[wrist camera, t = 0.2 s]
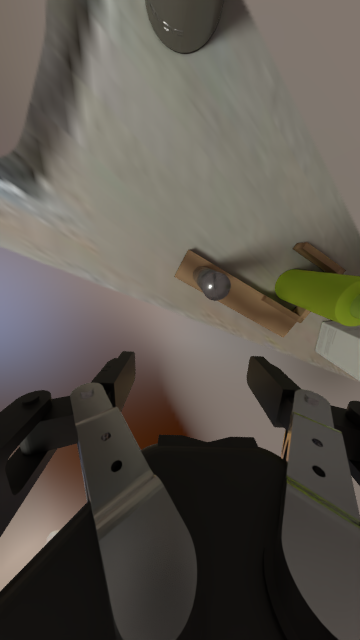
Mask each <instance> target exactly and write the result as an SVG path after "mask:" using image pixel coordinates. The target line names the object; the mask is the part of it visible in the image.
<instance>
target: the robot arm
mask: <svg viewBox="0 0 360 640" xmlns="http://www.w3.org/2000/svg"><path fill="white" fill-rule="evenodd" d="M223 1H224V0H145V3H146V9H147V13H148V16H149V20H150V22H151V24H152V27H153V29H154V31H155V33H156V34H157V36H158V37H159V39H160V40H161V41H162V42H163V43H164V44H165V45H166V46H167V47H169V48H170V49H172V50H173V51H177V52H180V53H189V52H192V51H195V50H197V49H199V48H200V47H201V46H203V45H204V44H205V43H206V42H207V41H208V39H209V38H210V37H211V35H212V34H213V32H214V30H215V28H216V26H217V23H218V21H219V18H220V15H221V10H222V6H223ZM134 379H135V353H134V352H126V351H123V352H122V353H121V354H120V356H119V357H118V358H114V359H112V360H110V361H109V362H107V364H106V365H105V366H104V367H103V368H102V370H101V371H100V372H99V373H98V375H97V376H96V377H95V378H94V379H93V380H92V382H91V383H87V384H84V385H81V386H79V387H77V388H76V389H75V390H73V391H72V393H71V395H70V396H67V397H61V398H56V399H51V393H50V392H48V391H45V390H41V391H34V392H31V393H28V394H25V395H23V396H21V397H19V398H18V399H16V400H15V401H14V402H13V403H11V404H10V405H9V406H7V407H6V408H5V409H4V410H2V411H1V412H0V537H1V535H2V534H3V532H4V531H5V529H6V527H7V526H8V524H9V523H10V521H11V519H12V518H13V517H14V515H15V513H16V512H17V510H18V509H19V507H20V506H21V504H22V503H23V501H24V499H25V498H26V496H27V495H28V493H29V492H30V490H31V488H32V487H33V485H34V484H35V482H36V481H37V479H38V478H39V476H40V474H41V473H42V471H43V470H44V468H45V467H46V465H47V463H48V462H49V461H50V459H51V458H52V456H53V454H54V453H55V451H56V450H57V448H61V447H65V446H68V445H72V444H76V443H77V446H78V451H79V457H80V462H81V468H82V474H83V479H84V485H85V491H86V498H87V503H86V504H85V505H84V506H83V507H82V508H81V509H80V510H79V511H78V513H77V514H76V515H74V517H73V518H72V519H71V520H70V521H69V522H68V523H67V524H66V525H65V526H64V527H63V528H62V529H61V530H60V531H59V532H58V533H57V534H56V535H55V536H54V537H53V538H52V539H51V540H50V541H49V542H48V543H47V544H46V545H45V546H44V547H43V548H42V549H41V550H40V551H39V553H37V554H36V555H35V556H34V557H33V559H32V560H31V561H30V562H29V563H28V564H27V565H26V566H25V567H24V568H23V569H22V570H21V571H20V572H19V573H18V574H17V575H16V576H15V577H14V578H13V579H12V580H11V581H10V582H9V583H8V584H7V585H6V586H5V587H4V588H3V589H2V590H1V591H0V640H360V515H359V510H358V505H357V501H356V496H355V492H354V487H353V482H352V477H353V478H354V479H355V481H356V482H357V483H358V484H359V485H360V402H359V401H350V402H349V404H348V407H347V409H344V408H339V407H335V406H331V405H330V403H329V402H328V401H327V400H326V399H325V398H323V397H322V396H320V395H319V394H317V393H314V392H312V391H308V390H303V389H301V388H300V387H299V386H297V385H296V384H295V383H294V382H293V381H292V380H291V379H290V378H288V376H287V375H286V374H284V373H283V372H282V371H281V370H280V369H279V368H278V367H276V366H274V365H272V364H270V363H269V362H268V361H267V360H266V359H265V358H264V357H261V356H259V357H258V356H251V357H250V360H249V367H248V372H247V383H248V386H249V387H250V389H251V391H252V392H253V394H254V395H255V397H256V399H257V400H258V402H259V403H260V405H261V407H262V408H263V410H264V411H265V413H266V414H267V416H268V418H269V419H270V420H271V422H272V424H273V426H274V427H283V428H285V429H286V430H285V434H284V439H283V445H282V451H281V457H279V456H277V455H276V454H274V453H272V452H270V451H268V450H266V449H263V448H260V447H258V446H257V443H256V441H255V439H254V438H253V437H228V438H224V439H220V440H216V441H212V442H204V441H201V440H197V439H193V438H190V437H186V436H182V435H159V438H158V444H154V445H151V446H148V447H146V448H145V449H142V450H140V448H139V446H138V444H137V443H136V441H135V439H134V437H133V435H132V433H131V431H130V429H129V427H128V425H127V423H126V422H125V420H124V418H123V416H122V414H121V411H122V408H123V406H124V403H125V401H126V399H127V397H128V394H129V392H130V390H131V387H132V385H133V383H134ZM18 445H20V447H19V448H18V449H17V450H16V452H15V453H14V454H13V455H12V456H11V457H10V455H11V454H12V453H13V451H14V450H15V449H16V448H17V446H18ZM9 457H10V458H9ZM8 458H9V460H8ZM351 476H352V477H351Z"/></svg>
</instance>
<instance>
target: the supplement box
mask: <svg viewBox="0 0 360 640" xmlns="http://www.w3.org/2000/svg"><path fill="white" fill-rule="evenodd" d="M315 351H316V352H317V353H319V354H320V355H322V356H323V357H324V358H326V359H327V360H329V361H330V362H332V363H333V364H335V365H336V366H338V367H339V368H341V369H342V370H344V371H345V372H347V373H348V374H350V375H351V376H353V377H354V378H356V379H357V380H359V381H360V325H359V326H345V325H342V324H340V323H338V322H335V321H326V322H322V325H321V329H320V333H319V337H318V341H317V345H316V350H315Z"/></svg>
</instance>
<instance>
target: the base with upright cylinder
mask: <svg viewBox="0 0 360 640" xmlns="http://www.w3.org/2000/svg"><path fill="white" fill-rule="evenodd" d="M293 249H294V250H295V251H296V252H298V253H299V254H301V255H302V256H304V257H305V258H306V259H308V260H309V261H311V262H312V263H314V264H315V265H316V266H318V267H319V268H321V269H322V270H324V271H325V273H333V274H342V275H343V273H344V272H345V271H346V270H345V269H343V268H342V267H341V266H339V265H338V264H336V263H335V262H334V261H332V260H331V259H329V258H328V257H327V256H325V255H324V254H323V253H321V252H320V251H318V250H317V249H316V248H314V247H313V246H312V245H310V244H309V243H307V242H305V243H297V244H296V245H295V246H294V248H293ZM175 277H176V278H178V279H179V280H181V281H183V282H185V283H187V284H188V285H190V286H192V287H194V288H196V289H197V290H199V291H201V292H203V293H204V294H205V296H206V297H207V298H209V299H211V300H214V301H219V302H221V303H222V304H224V305H226V306H228V307H229V308H231V309H233V310H235V311H237V312H238V313H240V314H242V315H244V316H246V317H247V318H249V319H251V320H253V321H255V322H256V323H258V324H260V325H262V326H263V327H265V328H267V329H269V330H271V331H272V332H274V333H276V334H278V335H280V336H281V337H284V336H285V335H286V334H287V333H288V332H289V330H290V329H291V328H292V327H293V326H294V324H295V323H296V322H299V323H301V322H302V321H303V320H304V319H305V318H306V317H307V315H308V314H309V313H310V312H311V311H308V310H306V309H304V308H301V307H299V306H297V307H296V308H295V309H294V310H293V312H292V311H290V310H289V309H287V308H285V307H284V306H282V305H280V304H279V303H277V302H275V301H274V300H272V299H270V298H269V297H267V296H265V295H263V294H261V293H260V292H258V291H256V290H255V289H253V288H252V287H250V286H248V285H247V284H245V283H243V282H242V281H240V280H238V279H237V278H235V277H233V276H232V275H230V274H228V273H227V272H225V271H223V270H222V269H220V268H218V267H217V266H215V265H213V264H212V263H210V262H208V261H207V260H205V259H204V258H202V257H200V256H199V255H197V254H195V253H194V252H192V251H190V250H188V251H187V253H186V255H185V257H184V259H183V261H182V263H181V265H180V266H179V268H178V270H177V272H176V274H175Z"/></svg>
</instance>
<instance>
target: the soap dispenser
mask: <svg viewBox="0 0 360 640" xmlns="http://www.w3.org/2000/svg"><path fill="white" fill-rule="evenodd" d="M275 292H276V295H277V296H278V297H279V298H280V299H282V300H284V301H287V302H289V303H292V304H294V305H296V306H299V307H301V308H304V309H306V310H308V311H311V312H313V313H316V314H318V315H321V316H323V317H325V318H328V319H330V320H333V321H335V322H338V323H340V324H342V325H345V326H359V325H360V276H351V275H342V274H333V273H324V272H315V271H306V270H297V269H292V270H288V271H286V272H284V273H283V274H282V275H281V276H280V277H279V278H278V280H277V282H276V285H275Z"/></svg>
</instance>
